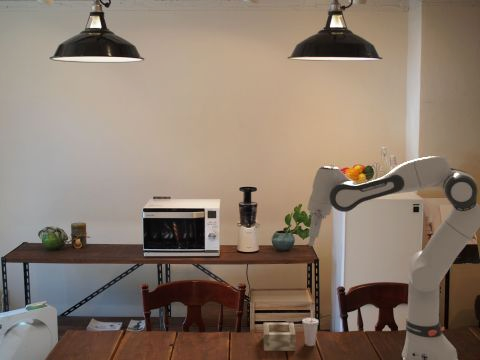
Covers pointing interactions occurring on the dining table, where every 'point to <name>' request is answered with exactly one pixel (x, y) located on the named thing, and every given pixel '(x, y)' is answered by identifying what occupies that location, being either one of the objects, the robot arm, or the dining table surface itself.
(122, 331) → the dining table surface
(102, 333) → the dining table surface
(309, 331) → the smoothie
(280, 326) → the box
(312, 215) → the robot arm
